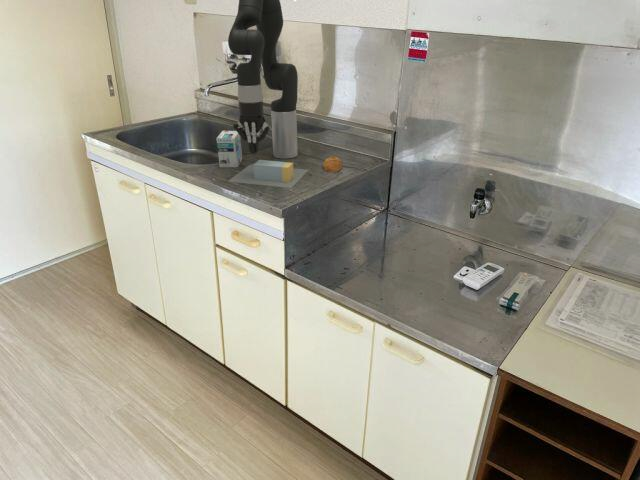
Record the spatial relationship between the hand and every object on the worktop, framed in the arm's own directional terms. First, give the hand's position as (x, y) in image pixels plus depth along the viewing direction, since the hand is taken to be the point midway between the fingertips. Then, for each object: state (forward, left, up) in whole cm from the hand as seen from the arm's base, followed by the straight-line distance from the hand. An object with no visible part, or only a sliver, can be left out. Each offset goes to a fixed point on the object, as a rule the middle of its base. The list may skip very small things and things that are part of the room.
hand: (254, 153), depth 157 cm
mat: (-2, +4, -8) cm, 10 cm away
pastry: (-16, +23, -9) cm, 29 cm away
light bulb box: (-12, -15, -9) cm, 21 cm away
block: (0, 0, -6) cm, 6 cm away
